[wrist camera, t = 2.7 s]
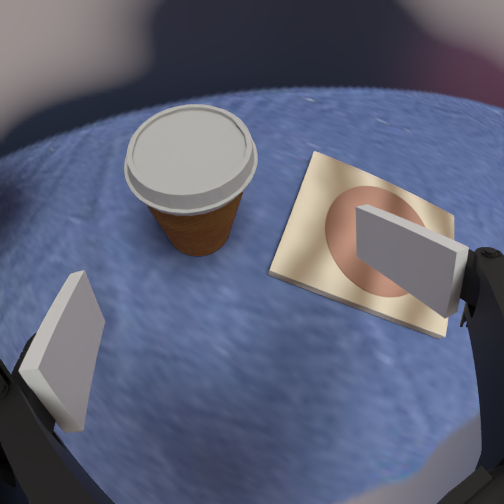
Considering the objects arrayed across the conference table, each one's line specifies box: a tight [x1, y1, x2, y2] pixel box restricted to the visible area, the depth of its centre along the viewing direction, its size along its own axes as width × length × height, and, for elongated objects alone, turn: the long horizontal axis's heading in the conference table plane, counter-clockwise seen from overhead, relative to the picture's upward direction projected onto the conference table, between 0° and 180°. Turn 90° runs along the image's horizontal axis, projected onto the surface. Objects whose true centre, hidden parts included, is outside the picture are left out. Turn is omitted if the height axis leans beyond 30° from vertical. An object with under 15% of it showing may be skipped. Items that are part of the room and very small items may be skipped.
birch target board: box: [268, 151, 454, 339], centre depth 31 cm, size 20×16×1 cm
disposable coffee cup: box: [124, 104, 257, 256], centre depth 25 cm, size 10×10×12 cm
